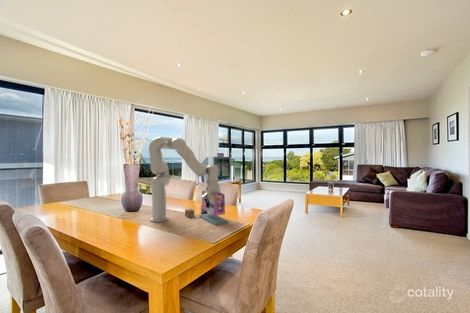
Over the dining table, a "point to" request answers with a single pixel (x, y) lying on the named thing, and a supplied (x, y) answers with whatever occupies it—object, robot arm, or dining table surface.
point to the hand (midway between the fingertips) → (213, 206)
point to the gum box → (215, 204)
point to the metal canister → (203, 210)
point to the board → (213, 219)
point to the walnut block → (189, 213)
